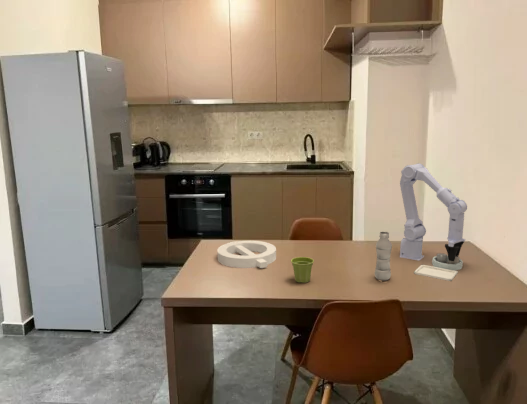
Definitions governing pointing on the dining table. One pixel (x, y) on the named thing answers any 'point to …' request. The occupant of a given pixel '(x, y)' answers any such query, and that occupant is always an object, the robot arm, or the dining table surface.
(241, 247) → the white circle with bar
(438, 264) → the bowl
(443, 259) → the slate capsule
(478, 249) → the dining table surface
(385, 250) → the plastic bottle
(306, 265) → the plant pot
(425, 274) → the parts tray
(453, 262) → the grey rounded cylinder
